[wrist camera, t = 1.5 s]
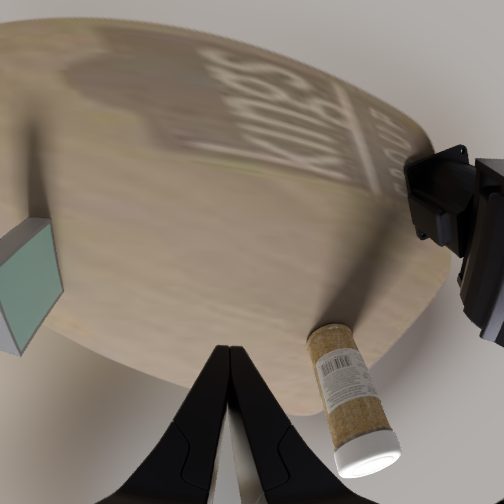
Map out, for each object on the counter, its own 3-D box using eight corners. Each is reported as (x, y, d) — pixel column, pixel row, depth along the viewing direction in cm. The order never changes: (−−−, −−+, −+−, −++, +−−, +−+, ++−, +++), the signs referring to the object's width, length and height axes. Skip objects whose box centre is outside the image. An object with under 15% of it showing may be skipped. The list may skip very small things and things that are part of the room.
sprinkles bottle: (307, 359, 28) (337, 484, 16) (304, 326, 26) (341, 466, 14) (351, 349, 28) (395, 467, 16) (353, 316, 26) (410, 444, 14)
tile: (51, 218, 20) (-12, 273, 12) (64, 291, 23) (21, 357, 15) (28, 216, 20) (-35, 268, 12) (43, 287, 23) (-2, 349, 15)
